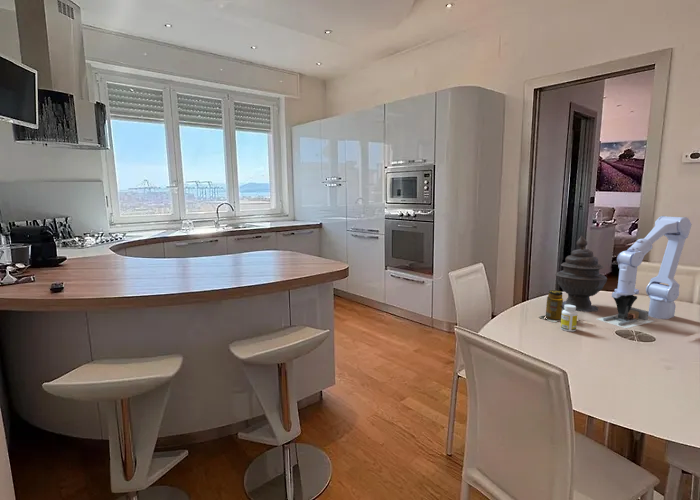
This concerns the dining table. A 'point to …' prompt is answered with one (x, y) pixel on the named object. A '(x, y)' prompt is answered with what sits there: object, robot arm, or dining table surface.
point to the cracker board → (631, 323)
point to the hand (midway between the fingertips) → (623, 312)
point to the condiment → (554, 306)
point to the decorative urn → (581, 278)
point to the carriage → (625, 316)
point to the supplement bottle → (569, 318)
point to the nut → (634, 313)
